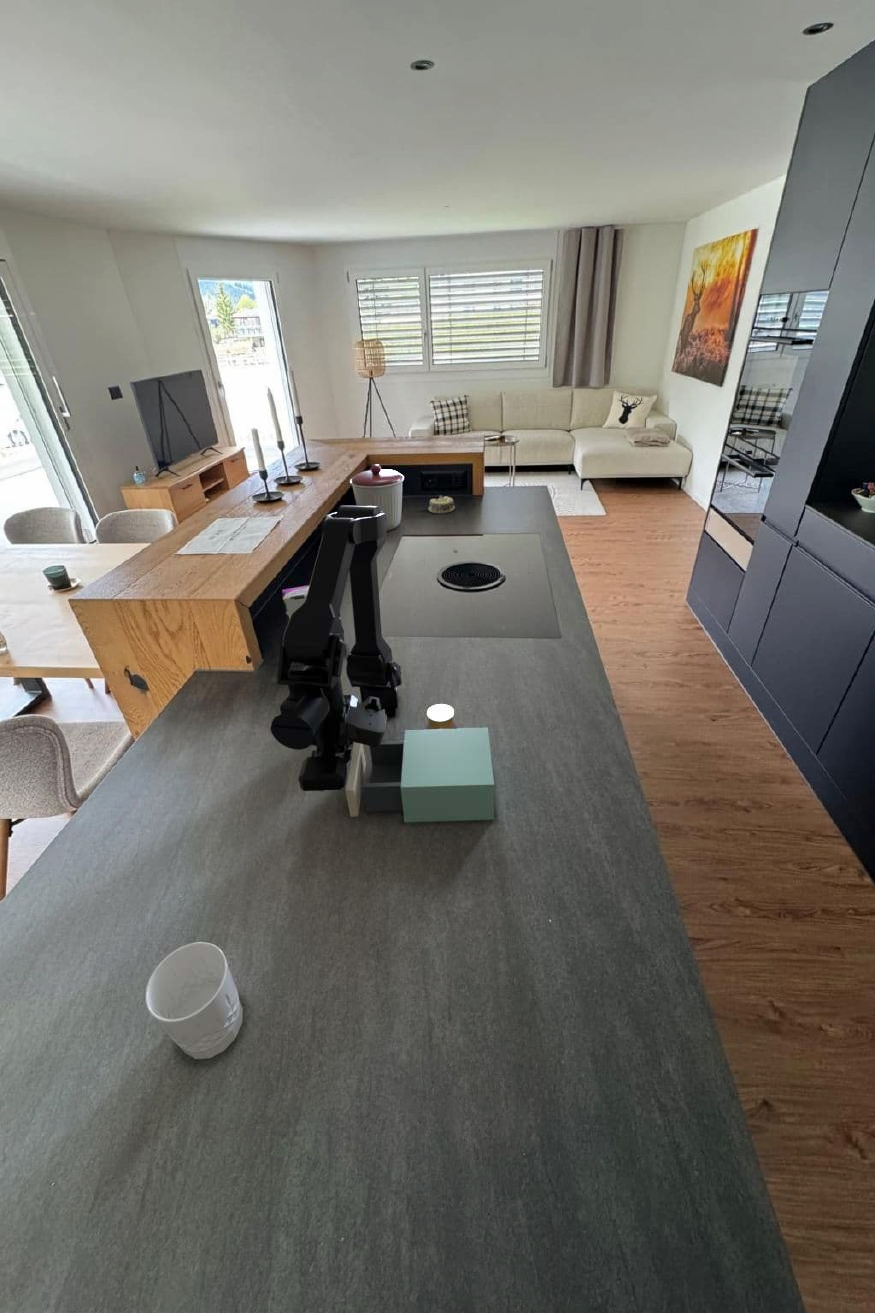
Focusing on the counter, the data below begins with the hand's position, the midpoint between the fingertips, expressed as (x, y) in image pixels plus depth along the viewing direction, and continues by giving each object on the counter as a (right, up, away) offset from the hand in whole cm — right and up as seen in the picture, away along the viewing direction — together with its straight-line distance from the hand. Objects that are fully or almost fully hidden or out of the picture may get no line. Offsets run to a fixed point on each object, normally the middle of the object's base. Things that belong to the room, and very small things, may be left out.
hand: (339, 778), depth 88 cm
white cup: (-9, -22, -26) cm, 36 cm away
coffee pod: (+16, +6, +14) cm, 22 cm away
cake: (+17, +74, +118) cm, 140 cm away
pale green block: (+17, -2, +2) cm, 18 cm away
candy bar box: (-11, +20, +37) cm, 43 cm away
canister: (-4, +65, +105) cm, 123 cm away
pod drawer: (+6, -2, +1) cm, 7 cm away
